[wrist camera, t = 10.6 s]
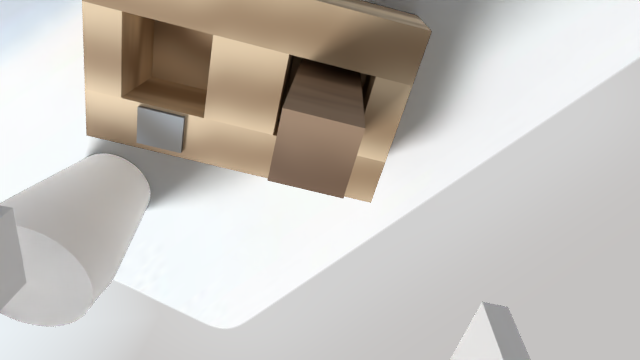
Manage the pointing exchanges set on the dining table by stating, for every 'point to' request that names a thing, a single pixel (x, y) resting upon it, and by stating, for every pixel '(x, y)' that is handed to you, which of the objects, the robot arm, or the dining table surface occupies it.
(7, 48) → the dining table surface
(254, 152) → the box
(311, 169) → the plug
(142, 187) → the cup
